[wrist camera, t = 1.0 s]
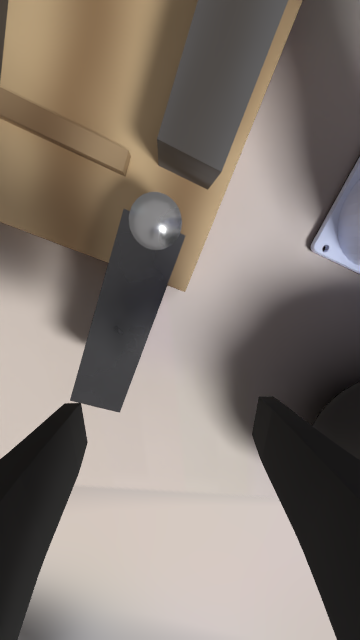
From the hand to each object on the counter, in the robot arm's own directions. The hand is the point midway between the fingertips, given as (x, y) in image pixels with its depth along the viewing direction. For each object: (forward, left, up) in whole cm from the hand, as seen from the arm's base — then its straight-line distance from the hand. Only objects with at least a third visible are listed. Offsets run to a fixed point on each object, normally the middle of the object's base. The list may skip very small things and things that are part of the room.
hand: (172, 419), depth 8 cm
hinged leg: (+3, -2, -7) cm, 8 cm away
